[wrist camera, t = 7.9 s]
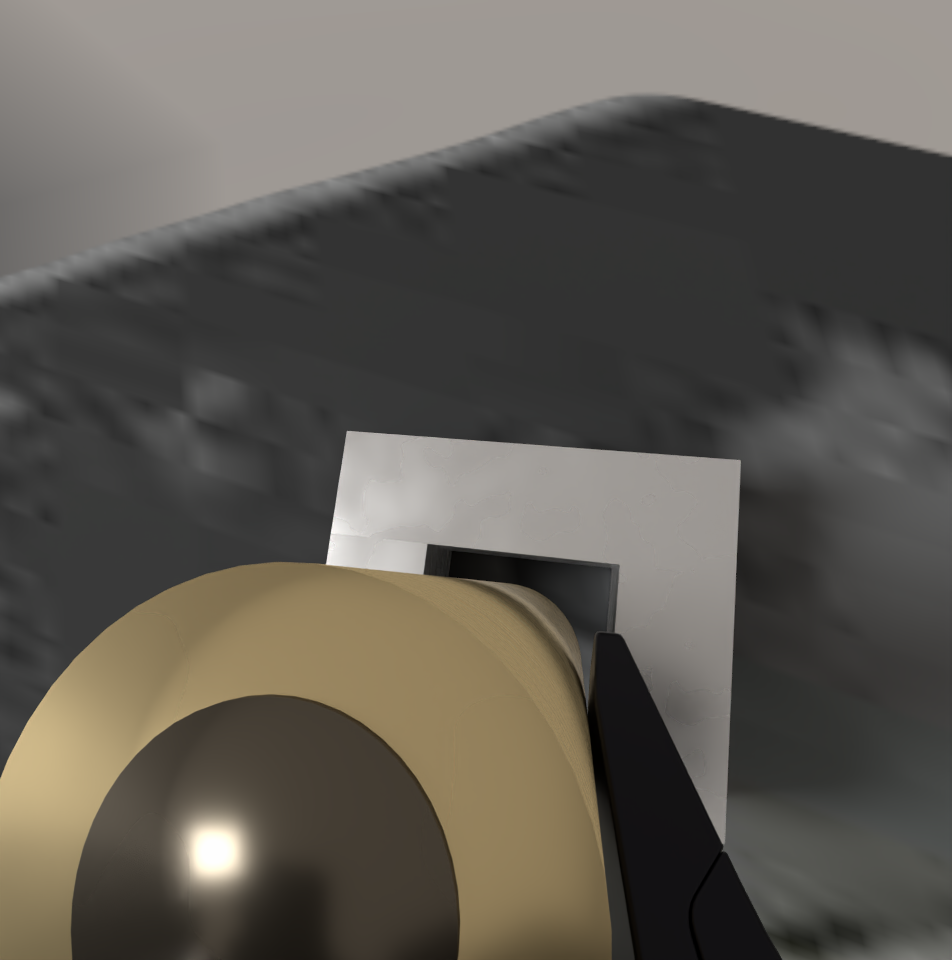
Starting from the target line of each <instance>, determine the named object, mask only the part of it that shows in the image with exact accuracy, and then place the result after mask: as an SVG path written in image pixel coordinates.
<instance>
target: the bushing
mask: <svg viewBox="0 0 952 960" xmlns="http://www.w3.org/2000/svg"><path fill="white" fill-rule="evenodd" d="M0 960H612V930H611V921H610V912H609V903H608V894H607V885H606V876H605V867H604V858H603V850H602V841H601V832H600V823H599V814H598V805H597V796H596V787H595V778H594V769H593V760H592V752H591V743H590V734H589V725H588V716H587V707H586V698H585V689H584V680H583V671H582V663H581V654H580V648H579V644H578V640H577V638H576V635H575V633H574V630H573V628H572V627H571V625H570V623H569V621H568V620H567V618H566V617H565V615H564V614H563V613H562V612H561V610H560V609H559V608H558V607H557V606H556V605H555V604H554V603H553V602H551V601H550V600H549V599H548V598H546V597H545V596H543V595H542V594H540V593H538V592H536V591H534V590H532V589H530V588H527V587H524V586H521V585H516V584H510V583H500V582H490V581H481V580H471V579H461V578H451V577H442V576H432V575H422V574H412V573H403V572H393V571H383V570H373V569H364V568H354V567H344V566H334V565H325V564H314V563H289V562H273V563H263V564H253V565H243V566H238V567H234V568H229V569H225V570H221V571H217V572H213V573H209V574H205V575H202V576H200V577H197V578H195V579H192V580H190V581H187V582H184V583H182V584H179V585H177V586H174V587H172V588H169V589H168V590H166V591H164V592H162V593H160V594H159V595H157V596H155V597H153V598H151V599H150V600H148V601H146V602H144V603H142V604H141V605H139V606H137V607H136V608H134V609H133V610H131V611H130V612H129V613H127V614H126V615H125V616H123V617H122V618H121V619H119V620H118V621H116V622H115V623H114V624H112V625H111V626H110V627H108V628H107V629H106V630H104V631H103V632H102V633H101V634H100V635H99V636H98V637H97V638H96V639H95V640H94V641H93V642H92V643H91V644H90V645H88V646H87V647H86V648H85V649H84V650H83V651H82V652H81V653H80V654H79V655H78V656H77V657H76V658H75V659H74V660H73V662H72V663H71V664H70V665H69V666H68V668H67V669H66V670H65V671H64V672H63V673H62V675H61V676H60V677H59V678H58V679H57V681H56V682H55V683H54V684H53V685H52V686H51V688H50V689H49V691H48V692H47V694H46V695H45V697H44V698H43V700H42V701H41V703H40V704H39V706H38V707H37V709H36V710H35V712H34V713H33V715H32V716H31V718H30V719H29V721H28V722H27V724H26V726H25V728H24V730H23V732H22V734H21V736H20V738H19V740H18V742H17V743H16V745H15V747H14V749H13V751H12V753H11V755H10V757H9V759H8V761H7V764H6V766H5V769H4V771H3V774H2V776H1V779H0Z"/></svg>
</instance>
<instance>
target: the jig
mask: <svg viewBox="0 0 952 960" xmlns="http://www.w3.org/2000/svg"><path fill="white" fill-rule="evenodd" d="M740 468H741V460H730V459H717V458H703V457H690V456H676V455H663V454H649V453H636V452H622V451H609V450H595V449H582V448H568V447H555V446H541V445H528V444H514V443H501V442H487V441H474V440H460V439H447V438H434V437H420V436H407V435H393V434H380V433H366V432H353V431H347V435H346V441H345V448H344V454H343V461H342V467H341V473H340V480H339V486H338V493H337V499H336V505H335V512H334V518H333V525H332V531H331V538H330V544H329V550H328V557H327V563H326V565H334V566H344V567H354V568H364V569H373V570H383V571H393V572H403V573H412V574H422V575H432V576H442V577H449V572H450V564H451V556H452V551H459V552H468V553H477V554H486V555H495V556H504V557H513V558H522V559H531V560H540V561H549V562H558V563H567V564H576V565H585V566H594V567H603V568H611V581H610V594H609V608H608V621H607V632H612V633H618V634H620V635H622V637H623V638H624V640H625V642H626V644H627V646H628V648H629V650H630V652H631V654H632V656H633V658H634V661H635V663H636V665H637V667H638V669H639V671H640V673H641V675H642V677H643V679H644V681H645V683H646V686H647V688H648V690H649V692H650V694H651V696H652V698H653V700H654V702H655V704H656V706H657V709H658V711H659V713H660V715H661V717H662V719H663V721H664V723H665V725H666V727H667V729H668V731H669V734H670V736H671V738H672V740H673V742H674V744H675V746H676V748H677V750H678V752H679V754H680V757H681V759H682V761H683V763H684V765H685V767H686V769H687V771H688V773H689V775H690V777H691V779H692V782H693V784H694V786H695V788H696V790H697V792H698V794H699V796H700V798H701V800H702V802H703V805H704V807H705V809H706V811H707V813H708V815H709V817H710V819H711V821H712V823H713V825H714V827H715V830H716V832H717V834H718V836H719V838H720V840H721V842H722V844H725V826H726V803H727V779H728V755H729V731H730V707H731V683H732V659H733V635H734V612H735V588H736V564H737V540H738V516H739V492H740Z"/></svg>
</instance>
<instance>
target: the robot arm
mask: <svg viewBox="0 0 952 960" xmlns="http://www.w3.org/2000/svg"><path fill="white" fill-rule="evenodd" d="M588 725H589V734H590V743H591V752H592V760H593V769H594V778H595V787H596V796H597V805H598V814H599V823H600V832H601V841H602V850H603V858H604V867H605V876H606V885H607V894H608V903H609V912H610V921H611V930H612V960H782V958H781V956H780V955H779V953H778V951H777V949H776V948H775V946H774V944H773V942H772V941H771V939H770V937H769V935H768V934H767V932H766V930H765V928H764V926H763V924H762V922H761V920H760V918H759V916H758V915H757V913H756V911H755V909H754V907H753V905H752V903H751V901H750V899H749V897H748V895H747V893H746V891H745V889H744V887H743V885H742V883H741V881H740V879H739V877H738V875H737V873H736V871H735V869H734V867H733V864H732V862H731V860H730V858H729V856H728V854H727V853H726V852H724V851H723V852H722V850H723V844H722V842H721V840H720V838H719V836H718V834H717V832H716V830H715V827H714V825H713V823H712V821H711V819H710V817H709V815H708V813H707V811H706V809H705V807H704V805H703V802H702V800H701V798H700V796H699V794H698V792H697V790H696V788H695V786H694V784H693V782H692V779H691V777H690V775H689V773H688V771H687V769H686V767H685V765H684V763H683V761H682V759H681V757H680V754H679V752H678V750H677V748H676V746H675V744H674V742H673V740H672V738H671V736H670V734H669V731H668V729H667V727H666V725H665V723H664V721H663V719H662V717H661V715H660V713H659V711H658V709H657V706H656V704H655V702H654V700H653V698H652V696H651V694H650V692H649V690H648V688H647V686H646V683H645V681H644V679H643V677H642V675H641V673H640V671H639V669H638V667H637V665H636V663H635V661H634V658H633V656H632V654H631V652H630V650H629V648H628V646H627V644H626V642H625V640H624V638H623V637H622V635H620V634H618V633H612V632H605V631H598V632H596V633H595V637H594V644H593V652H592V660H591V670H590V684H589V700H588Z"/></svg>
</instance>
